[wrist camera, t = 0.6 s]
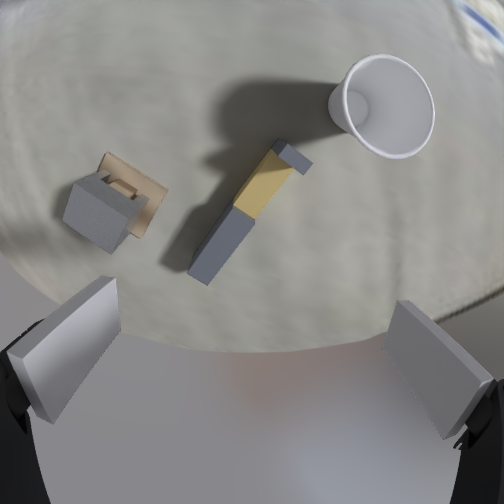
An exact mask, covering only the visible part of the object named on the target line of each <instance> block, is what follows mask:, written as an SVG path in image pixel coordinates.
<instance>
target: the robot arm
mask: <svg viewBox="0 0 504 504" xmlns="http://www.w3.org/2000/svg"><path fill="white" fill-rule="evenodd" d="M120 331H121V325H120V317H119V309H118V300H117V289H116V278H115V277H108V276H100V277H99V278H98V279H96V280H95V281H94V282H92V283H91V284H89V285H88V286H87V287H85V288H84V289H83V290H81V291H80V292H79V293H77V294H76V295H75V296H73V297H72V298H71V299H69V300H68V301H67V302H66V303H64V304H63V305H62V306H60V307H59V308H58V309H57V310H56V311H54V312H53V313H52V314H50V315H49V316H48V317H47V318H45V319H42V320H40V321H38V322H36V323H34V324H33V325H32V326H31V327H29V328H28V329H27V331H25V332H23V333H22V334H21V336H19V337H17V338H16V339H15V340H14V341H13V342H11V343H10V344H9V345H8V346H7V347H6V348H5V349H4V350H2V351H1V352H0V504H51V503H50V500H49V497H48V494H47V491H46V488H45V485H44V482H43V479H42V475H41V471H40V467H39V464H38V460H37V455H36V450H35V446H34V440H33V435H32V429H31V422H30V417H29V414H28V412H27V409H28V407H29V406H30V405H31V406H32V408H33V410H34V411H35V413H36V415H37V416H38V417H39V418H41V419H43V420H45V421H47V422H49V423H51V424H54V423H55V421H56V420H57V418H58V417H59V415H60V414H61V412H62V411H63V409H64V408H65V406H66V405H67V403H68V402H69V400H70V399H71V398H72V396H73V395H74V393H75V392H76V390H77V389H78V388H79V386H80V384H81V383H82V382H83V380H84V379H85V378H86V376H87V375H88V374H89V372H90V370H91V369H92V368H93V367H94V365H95V364H96V363H97V361H98V360H99V358H100V357H101V356H102V354H103V353H104V352H105V350H106V349H107V348H108V346H109V345H110V344H111V343H112V341H113V340H114V339H115V337H116V336H117V335H118V333H119V332H120ZM382 350H383V351H384V352H385V354H386V355H387V357H388V358H389V359H390V361H391V362H392V364H393V365H394V366H395V368H396V369H397V371H398V372H399V373H400V375H401V377H402V378H403V379H404V381H405V382H406V384H407V385H408V387H409V388H410V390H411V391H412V393H413V394H414V395H415V397H416V399H417V400H418V401H419V403H420V405H421V406H422V408H423V409H424V411H425V412H426V414H427V415H428V417H429V418H430V420H431V422H432V423H433V425H434V426H435V428H436V429H437V431H438V433H439V434H440V436H441V437H442V439H443V440H444V439H447V438H449V437H451V436H454V435H456V434H457V433H458V431H459V430H460V429H461V427H462V426H463V425H464V424H466V425H467V427H468V428H467V430H466V431H465V432H464V433H463V435H462V436H461V437H460V438H459V440H458V441H457V442H456V443H455V445H454V447H453V448H454V449H455V448H456V447H457V446H458V445H459V444H460V443H462V445H461V446H460V448H459V450H461V456H460V462H459V467H458V472H457V476H456V481H455V485H454V489H453V493H452V497H451V500H450V504H504V379H502V380H500V381H499V382H497V381H496V380H495V379H494V378H493V377H492V376H491V375H490V374H489V373H488V372H487V371H486V370H485V369H484V368H483V367H482V366H481V365H480V364H479V363H478V362H477V361H476V360H475V359H474V358H473V357H472V356H471V355H470V354H469V353H468V352H467V351H465V350H464V349H463V348H462V347H461V346H460V345H459V344H458V343H457V342H456V341H455V340H454V339H453V338H451V337H450V336H449V335H448V334H447V333H446V332H445V331H444V330H443V329H441V328H440V327H439V326H438V325H437V324H436V323H435V322H434V321H432V320H431V319H430V318H429V317H428V316H427V315H426V314H424V313H423V312H422V311H421V310H420V309H419V308H417V307H416V306H415V305H414V304H413V303H411V302H410V301H409V300H397V302H396V306H395V309H394V313H393V316H392V319H391V322H390V325H389V328H388V331H387V335H386V337H385V340H384V343H383V346H382Z"/></svg>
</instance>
